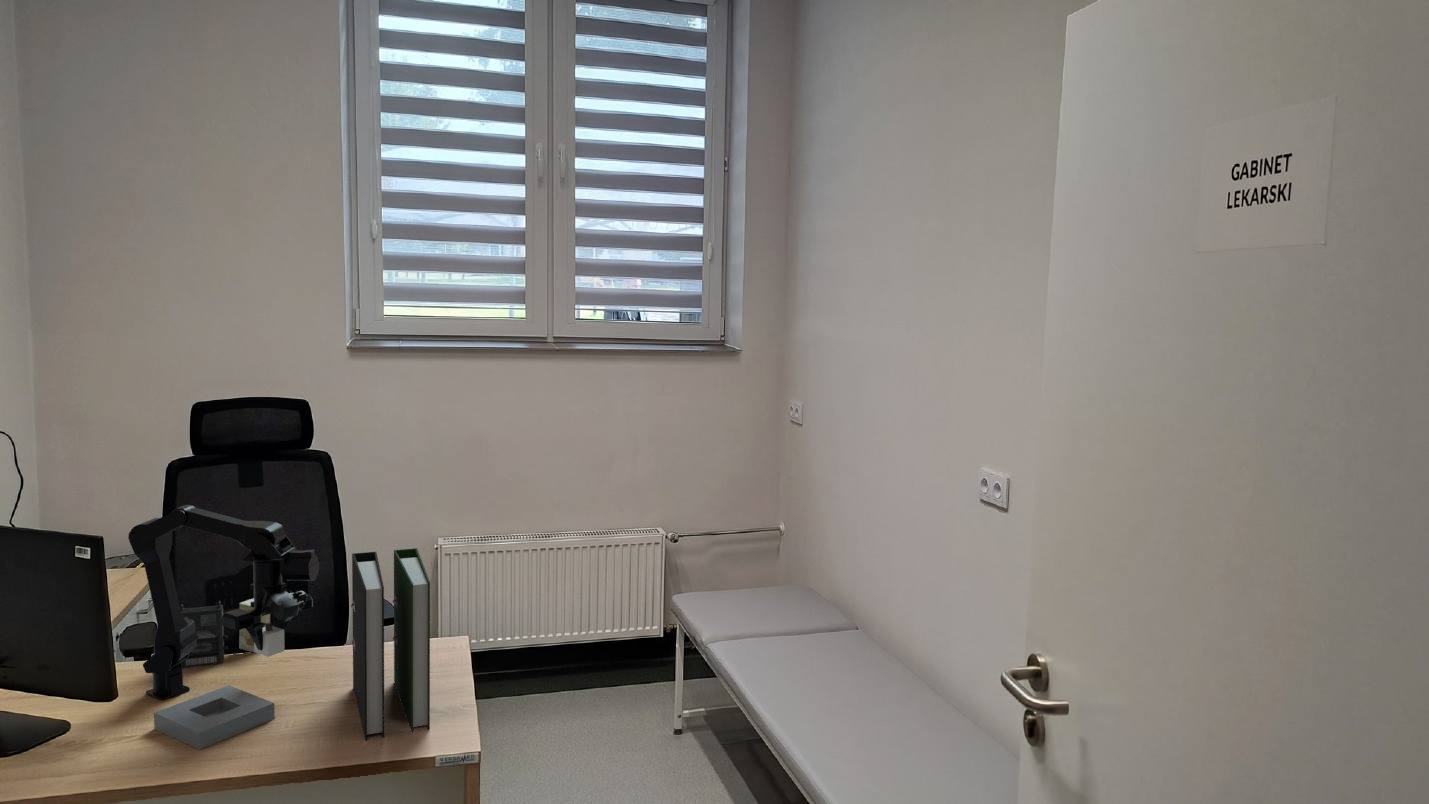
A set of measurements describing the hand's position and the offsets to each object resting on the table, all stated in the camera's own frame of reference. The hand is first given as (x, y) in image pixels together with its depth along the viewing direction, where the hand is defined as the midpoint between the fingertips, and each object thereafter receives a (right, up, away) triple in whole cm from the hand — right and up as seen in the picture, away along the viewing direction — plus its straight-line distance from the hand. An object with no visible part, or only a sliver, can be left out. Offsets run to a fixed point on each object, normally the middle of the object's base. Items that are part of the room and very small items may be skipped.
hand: (269, 646), depth 198 cm
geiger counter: (-25, -9, +17) cm, 31 cm away
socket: (-4, -12, -14) cm, 19 cm away
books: (+29, -13, -4) cm, 32 cm away
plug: (0, -1, 0) cm, 1 cm away
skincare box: (-17, -8, +26) cm, 32 cm away
